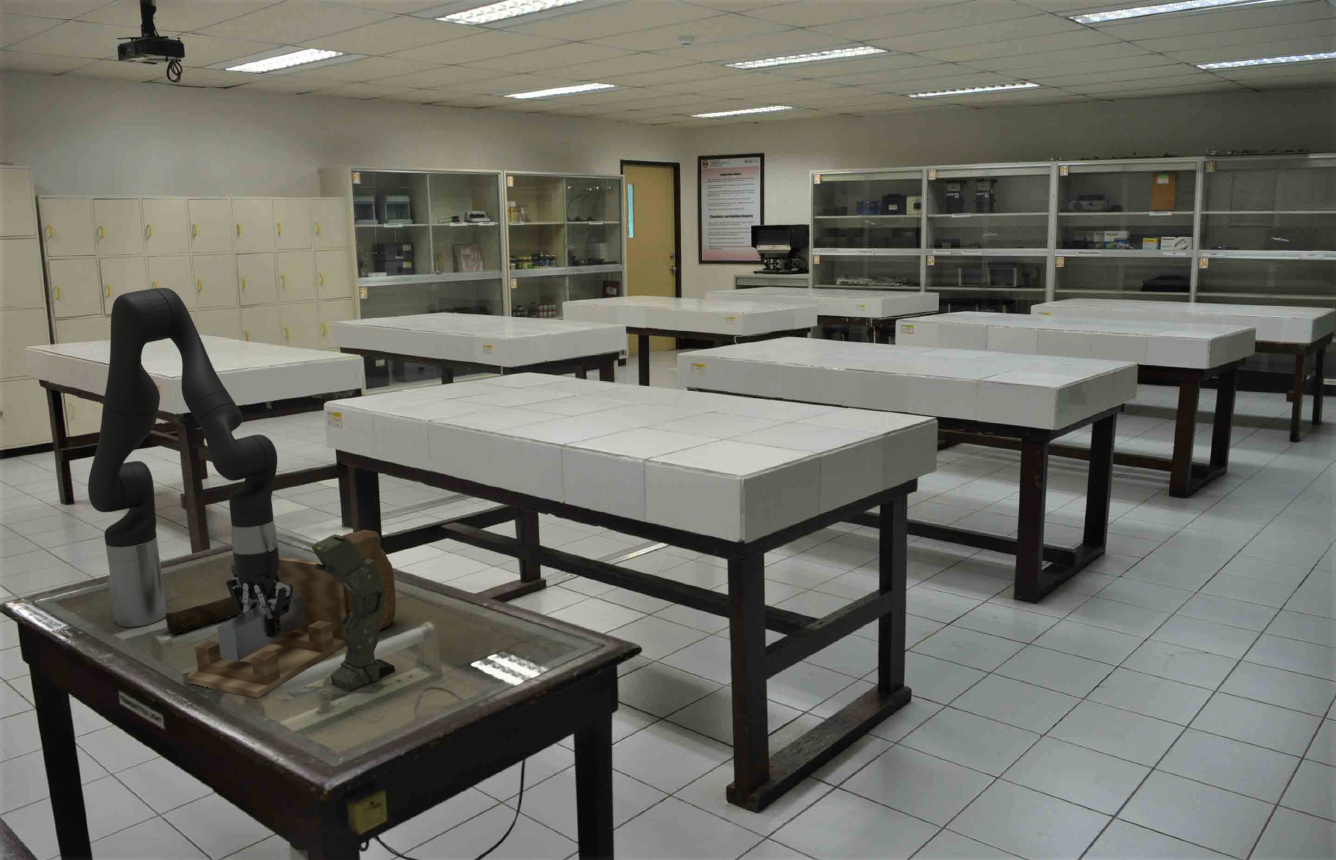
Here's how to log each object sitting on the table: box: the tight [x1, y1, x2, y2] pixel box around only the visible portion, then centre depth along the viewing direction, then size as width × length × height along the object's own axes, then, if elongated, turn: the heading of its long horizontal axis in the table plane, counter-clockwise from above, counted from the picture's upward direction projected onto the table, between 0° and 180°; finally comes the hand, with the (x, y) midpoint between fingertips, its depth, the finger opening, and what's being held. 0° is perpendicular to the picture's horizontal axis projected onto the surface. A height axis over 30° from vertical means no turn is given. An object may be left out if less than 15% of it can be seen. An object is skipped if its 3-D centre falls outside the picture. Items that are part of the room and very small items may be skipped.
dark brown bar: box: [165, 596, 272, 636], centre depth 200 cm, size 23×5×6 cm, turn 134°
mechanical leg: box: [311, 533, 396, 692], centre depth 170 cm, size 13×7×29 cm, turn 140°
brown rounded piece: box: [342, 529, 397, 632], centre depth 193 cm, size 11×8×20 cm
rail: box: [216, 593, 306, 661], centre depth 177 cm, size 4×17×6 cm, turn 159°
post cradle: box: [186, 556, 347, 699], centre depth 178 cm, size 16×24×16 cm
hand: (264, 633), depth 178 cm, fingers closed on rail, 4 cm apart
